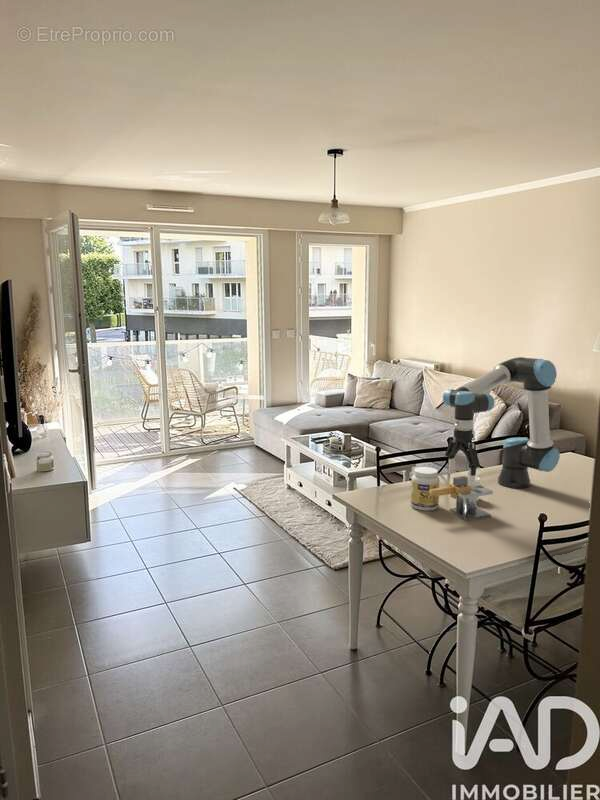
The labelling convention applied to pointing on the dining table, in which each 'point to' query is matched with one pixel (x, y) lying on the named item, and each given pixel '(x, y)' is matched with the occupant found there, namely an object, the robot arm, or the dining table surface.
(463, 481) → the wedge pin
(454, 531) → the dining table surface
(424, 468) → the supplement tub
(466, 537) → the dining table surface
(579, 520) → the dining table surface
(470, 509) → the ball joint plate
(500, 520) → the dining table surface
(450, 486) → the wooden handled frame
